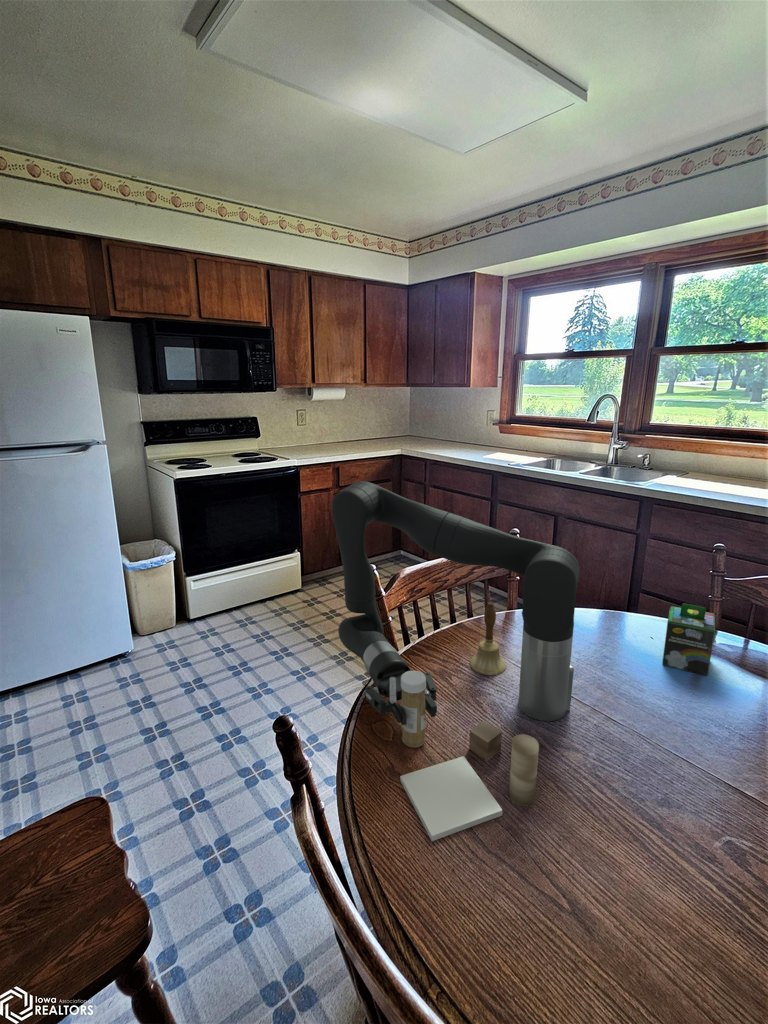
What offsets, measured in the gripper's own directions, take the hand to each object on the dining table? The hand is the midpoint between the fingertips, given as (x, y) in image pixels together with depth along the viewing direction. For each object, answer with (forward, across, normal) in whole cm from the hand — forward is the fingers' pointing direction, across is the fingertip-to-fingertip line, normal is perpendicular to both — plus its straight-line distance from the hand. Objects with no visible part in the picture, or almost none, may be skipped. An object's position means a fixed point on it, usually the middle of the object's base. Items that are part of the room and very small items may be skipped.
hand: (419, 716), depth 88 cm
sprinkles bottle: (-3, 0, +7) cm, 8 cm away
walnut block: (+4, +11, +7) cm, 14 cm away
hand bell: (-19, +26, +7) cm, 33 cm away
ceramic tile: (+11, 0, +7) cm, 13 cm away
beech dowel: (+15, +11, +7) cm, 20 cm away
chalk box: (-3, +69, +7) cm, 69 cm away
